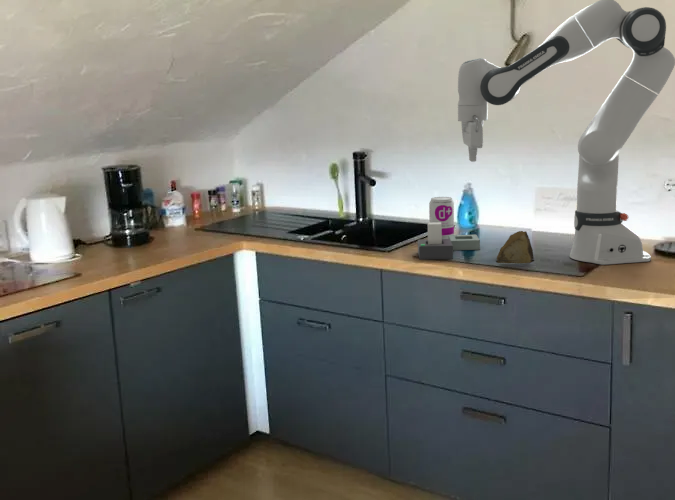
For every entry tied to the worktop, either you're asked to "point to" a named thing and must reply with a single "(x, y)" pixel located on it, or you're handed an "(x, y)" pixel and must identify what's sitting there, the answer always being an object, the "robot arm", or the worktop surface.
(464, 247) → the block
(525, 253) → the rock
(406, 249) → the worktop surface
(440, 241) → the plug
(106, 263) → the worktop surface
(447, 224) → the supplement can
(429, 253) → the port
